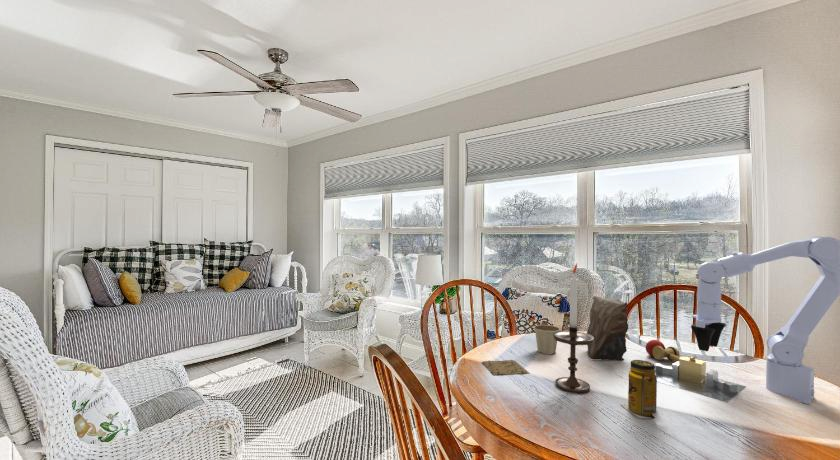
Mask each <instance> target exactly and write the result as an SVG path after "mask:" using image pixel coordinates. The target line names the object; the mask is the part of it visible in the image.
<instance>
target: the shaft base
mask: <svg viewBox="0 0 840 460" xmlns="http://www.w3.org/2000/svg"><path fill="white" fill-rule="evenodd" d="M654 365H655V375H656V377H657V383H661V384H664V385H667V386H670V387H673V388H676V389H680V390H683V391H687V392H690V393H695V394H698V395H700V396H704V397H708V398H710V399H714V400H718V401H720V402H723V403H729V402H730V401H731V400H733V398H735V397H736V396H737V395H738V394H739V393H741V392H742V391H743V390H744V389H745V388H746V387H747V386H745V385H741V384H739V383H735V382H732V381H727V380H723V379H720V378H719V371H718V370H714V369H710V370H709V371H706V381H705V382H703V383H702V384H700V383H697V382H693V381H690V380H686V379H682V378H679V361H677V362H674V363H672V364H671V366H669V365H666V364H663V363H657V362H656V363H654Z"/></svg>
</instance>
